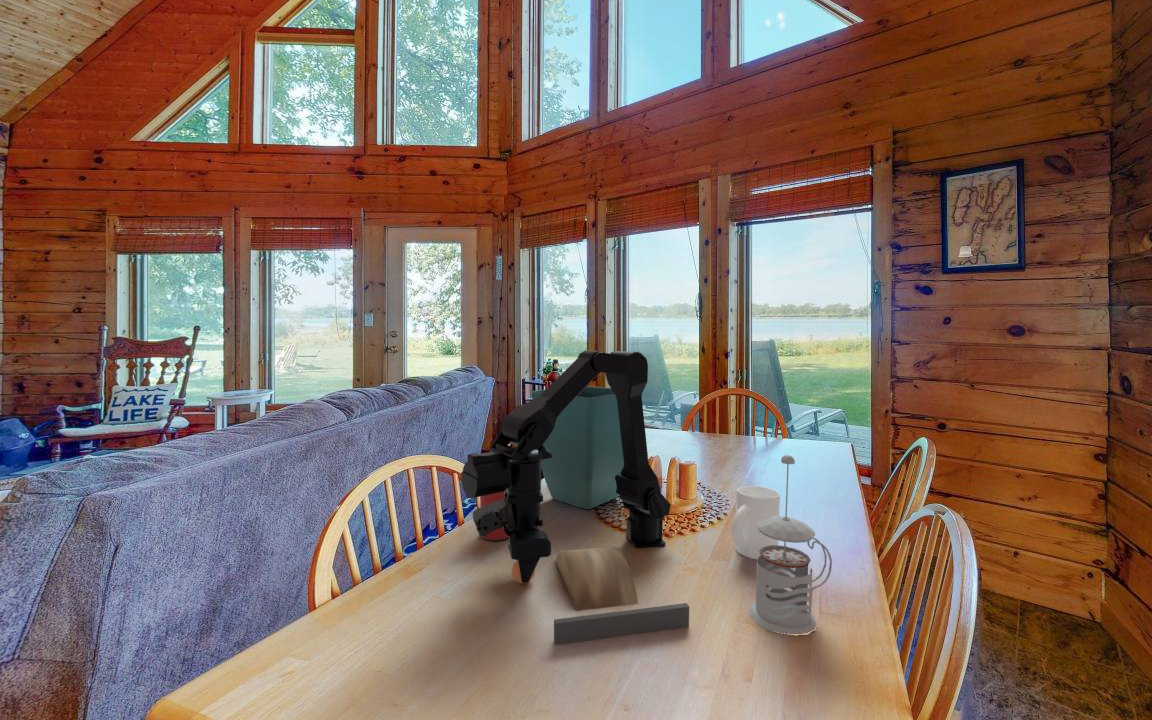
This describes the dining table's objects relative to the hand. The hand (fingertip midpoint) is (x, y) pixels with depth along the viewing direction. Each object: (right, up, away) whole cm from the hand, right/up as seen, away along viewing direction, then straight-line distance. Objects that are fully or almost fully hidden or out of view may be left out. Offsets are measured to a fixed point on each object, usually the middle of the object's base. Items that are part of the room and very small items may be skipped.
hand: (523, 576), depth 86 cm
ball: (0, +1, 0) cm, 1 cm away
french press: (+41, -2, -9) cm, 43 cm away
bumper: (+16, -2, -14) cm, 21 cm away
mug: (+43, -1, +13) cm, 45 cm away
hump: (+12, -19, +2) cm, 22 cm away
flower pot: (+11, +1, +44) cm, 45 cm away
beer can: (-8, 0, +20) cm, 21 cm away
